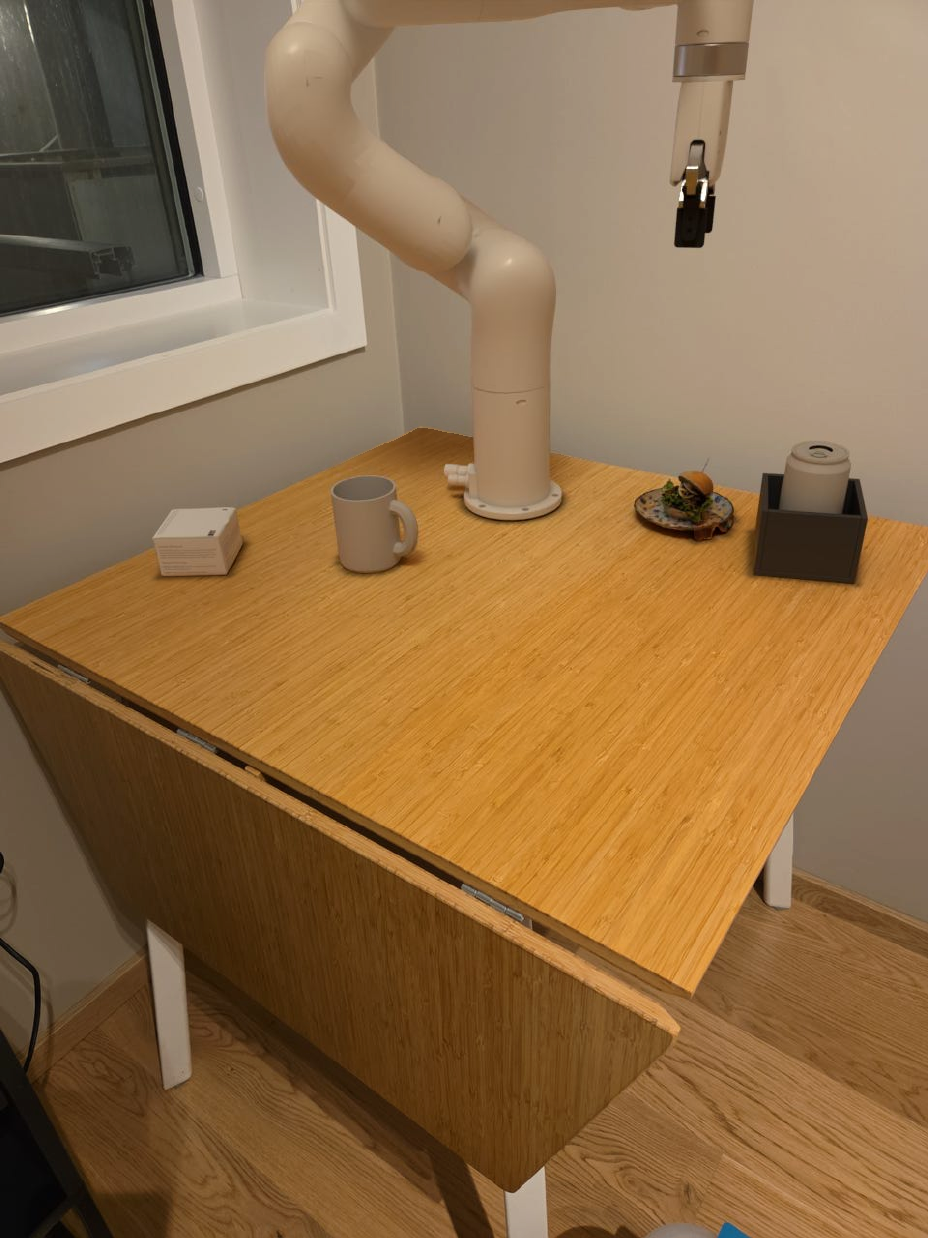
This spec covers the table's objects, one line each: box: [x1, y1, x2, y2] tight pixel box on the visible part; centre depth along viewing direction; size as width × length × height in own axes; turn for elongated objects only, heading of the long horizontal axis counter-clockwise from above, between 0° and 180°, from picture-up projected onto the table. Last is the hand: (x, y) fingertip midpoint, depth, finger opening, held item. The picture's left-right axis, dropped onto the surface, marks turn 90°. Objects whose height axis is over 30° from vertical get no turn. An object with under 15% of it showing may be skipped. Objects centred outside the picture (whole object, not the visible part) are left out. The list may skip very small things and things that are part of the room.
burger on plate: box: [633, 458, 735, 542], centre depth 108 cm, size 12×12×8 cm
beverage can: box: [779, 440, 852, 514], centre depth 97 cm, size 6×6×12 cm
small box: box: [151, 506, 244, 577], centre depth 105 cm, size 8×8×5 cm
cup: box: [330, 474, 419, 574], centre depth 101 cm, size 7×10×9 cm
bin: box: [752, 472, 869, 585], centre depth 98 cm, size 10×10×8 cm
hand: (693, 239), depth 104 cm, fingers open, 9 cm apart
